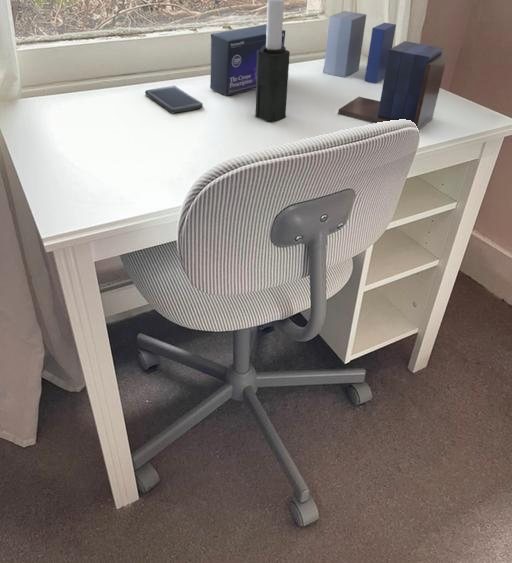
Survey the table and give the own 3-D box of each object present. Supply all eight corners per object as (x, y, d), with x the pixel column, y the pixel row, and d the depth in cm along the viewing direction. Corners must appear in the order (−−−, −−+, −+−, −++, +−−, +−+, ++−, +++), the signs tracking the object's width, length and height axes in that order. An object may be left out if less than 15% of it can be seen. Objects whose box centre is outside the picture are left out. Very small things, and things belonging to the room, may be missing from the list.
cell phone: (174, 88, 121) (173, 85, 121) (204, 107, 112) (204, 104, 112) (144, 93, 118) (143, 90, 117) (172, 113, 109) (172, 110, 108)
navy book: (387, 76, 133) (396, 24, 126) (375, 83, 129) (384, 29, 121) (375, 74, 135) (384, 22, 127) (364, 81, 130) (372, 27, 123)
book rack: (432, 118, 112) (449, 47, 103) (415, 133, 105) (432, 58, 96) (358, 100, 119) (368, 33, 110) (337, 113, 112) (346, 42, 103)
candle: (252, 116, 110) (256, -23, 94) (269, 110, 113) (275, -26, 97) (271, 123, 107) (277, -19, 92) (287, 116, 110) (297, -22, 94)
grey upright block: (358, 69, 137) (366, 14, 129) (344, 77, 132) (352, 20, 124) (337, 65, 140) (344, 10, 132) (323, 72, 134) (329, 16, 126)
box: (228, 97, 118) (228, 39, 111) (209, 89, 122) (208, 33, 114) (283, 82, 127) (286, 28, 120) (263, 75, 131) (265, 22, 124)
